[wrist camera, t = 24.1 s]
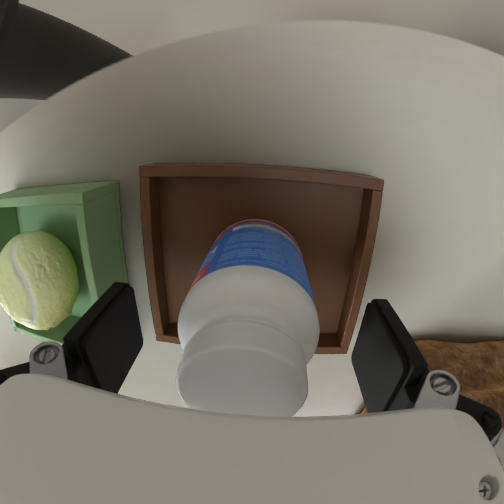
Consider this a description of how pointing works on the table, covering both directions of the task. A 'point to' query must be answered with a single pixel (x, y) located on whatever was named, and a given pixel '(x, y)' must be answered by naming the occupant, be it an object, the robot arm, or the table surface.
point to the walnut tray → (265, 208)
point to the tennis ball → (37, 280)
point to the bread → (470, 369)
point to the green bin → (71, 238)
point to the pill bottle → (248, 325)
